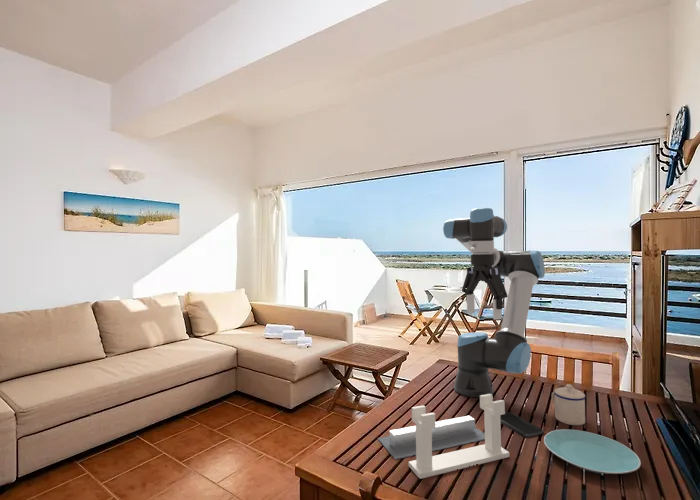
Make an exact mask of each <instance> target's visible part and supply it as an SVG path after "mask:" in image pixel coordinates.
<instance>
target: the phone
mask: <svg viewBox="0 0 700 500" xmlns="http://www.w3.org/2000/svg"><path fill="white" fill-rule="evenodd" d="M500 422H501V424H502V425H504V426H505V427H507V428H508V427H509V428H508V429H510V430H511V429H512V430H511V431H513V432H515V433H517V434H518V435H520V436H522V437H524V438H532V437H537V436H541V435H544V431H545V430H544V429H542V428H540V427H538V426H537V425H535V424H533V423H531V422H530V421H528V420H527V419H524V418H523V417H520V416H518V415H517V414H515V413H513V412H510V411H508V412H506V411H505V414H503V415H500ZM536 435H537V436H536Z"/></svg>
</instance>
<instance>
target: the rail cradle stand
mask: <svg viewBox="0 0 700 500" xmlns="http://www.w3.org/2000/svg"><path fill="white" fill-rule="evenodd" d="M505 405H506V403H505V400H503V399H499V400H498V399H497V400H495V401H494V398H493V394H485V395H480V397H479V408H480V409H482V411H484V412H483V416H484V433H485V440H484V444H480V445H475V446H471V447H466V448H462V449H458V450H454V451H449V452H445V453H441V454H437V455H433V451H432V428H436V424H435V422H436V413H434V412H429V413H426V409H427V408H426V406H425V405H419V406H413V407H411V421H412V422H413V423H414V424H415V426H416V455H415V459H414V460H410V461H408V467H409V468H410V469H411V471H412V472H413V473H414V474H415V475H416V477H418V479H420V480H421V479H425V478H429V477H434V476H437V475H442V474H445V473H450V472H454V471H457V469H458V470H462V469H466V468H470V467H474V466H477V465H476V464H478V465H483V464H485V463H486V464H487V463H491V462H494V461H498V460H502V459H507V458H510V452H509V451H508V450H507V449H505V448H503V447H502V438H501V437H502V436H501V435H502V432H501V431H502V430H501V424H502V423H501V422H500V415H503V414H505V413H506V407H505ZM473 465H474V466H473ZM469 466H470V467H469Z"/></svg>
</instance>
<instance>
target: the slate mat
mask: <svg viewBox="0 0 700 500" xmlns="http://www.w3.org/2000/svg"><path fill="white" fill-rule="evenodd" d="M377 440H378V441H379V443H380V444H381V443H382V444H381V445H382V446H383V447H384V449H385V450H386V451H387V452H388V453H389V455H390V456H392V458H393V459H394V461H396V460H401V459H405V458H408V457H413V455H414V456H416V445H412V446H407V447H403V448H398V449H394V448H393V447H392V446H391V445H390V435H387V436H382V437H377ZM480 441H481V442H482V441H485V432H483V431H482V430H480V429H479V428H478V427H476V426H475V432H473V433H469V434H464V435H459V436H455V437H450V438H445V439H440V440H436V441H432V452H435V451H436V450H437V451H441V450H444V449H446V450H447V449H450V448H453V447H458V446H464V445H467V444H472V443H471V442H473V443H476V442H480Z"/></svg>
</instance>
